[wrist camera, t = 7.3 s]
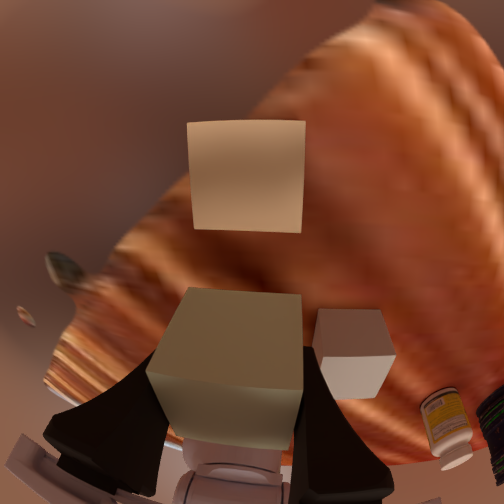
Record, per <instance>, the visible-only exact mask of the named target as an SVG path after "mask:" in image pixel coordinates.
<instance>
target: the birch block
mask: <svg viewBox="0 0 504 504" xmlns="http://www.w3.org/2000/svg"><path fill="white" fill-rule="evenodd" d="M187 136H188V155H189V172H190V186H191V199H192V211H193V222H194V229H208V230H239V231H265V232H288V233H301V224H302V207H303V187H304V162H305V121H297V120H221V121H205V122H192V123H187Z"/></svg>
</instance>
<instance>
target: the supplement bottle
mask: <svg viewBox="0 0 504 504" xmlns="http://www.w3.org/2000/svg"><path fill="white" fill-rule="evenodd" d="M420 411H421V415H422V419H423V422H424V426H425V430H426V434H427V437H428V441H429V446H430V450H431V453H432V455H434V456H436V457H440V458H441V459H440V460H439V461H440V466H441V470H447V469H450V468H453V467H455V466H457V465H459V464H461V463H463V462H465V461H466V460H468V459H469V458H470V457H471V456H472V455H473V452H472V448H471V446H470V444H468V442H469V440H470V439H471V437H472V428H471V426H470V423H469V420H468V417H467V414H466V412H465V409H464V406H463V404H462V401H461V398H460V396H459V393H458V391H457V390H456V389H455V388H445V389H442V390H440V391H438V392H436V393H434V394H432V395H431V396H429V397H428V398H427V399H426V400H425V401H424V402H423V403H422V405H421V408H420Z"/></svg>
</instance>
